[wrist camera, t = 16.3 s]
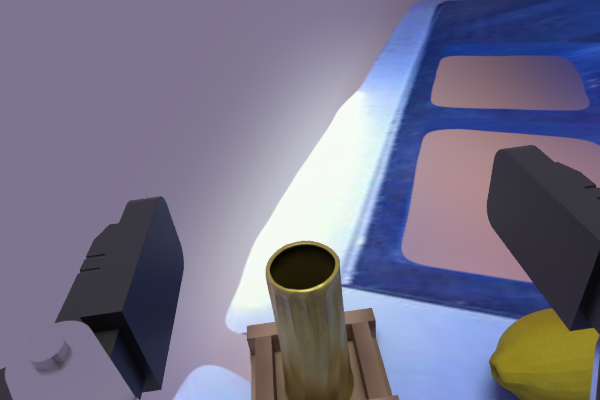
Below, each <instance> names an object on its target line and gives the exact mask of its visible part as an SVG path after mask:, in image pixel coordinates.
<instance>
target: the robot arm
mask: <svg viewBox="0 0 600 400" xmlns="http://www.w3.org/2000/svg"><path fill="white" fill-rule="evenodd" d="M487 214H488V218H489V221H490V224H491V226H492V228H493V229H494V230H495V232H496V233H497V234H498V236H499V237H500V238H501V240H502V241H503V242H504V244H505V245H506V247H507V248H508V249H509V250H510V252H511V253H512V255H513V256H514V257H515V259H516V260H517V261H518V263H519V264H520V265H521V266H522V268H523V269H524V271H525V272H526V273H527V275H528V276H529V277H530V279H531V280H532V281H533V283H534V284H535V285H536V287H537V288H538V290H539V291H540V292H541V294H542V295H543V296H544V298H545V299H546V300H547V302H548V303H549V304H550V306H551V307H552V308H553V310H554V311H555V312H556V314H557V315H558V316H559V318H560V319H561V320H562V322H563V323H564V324H565V326H566V327H567V328H568V330H569V331H576V330H583V329H589V328H594V329H595V330H596V331H597V332H598V334H599V335H600V188H596V185H595V184H594V183H593V182H591V180H589V179H588V178H587V177H586V176H584V175H583V174H582V173H581V172H579V171H577V170H574V169H572V168H570V167H568V166H565V165H563V164H561V163H558V162H556V163H555V162H554V161H552V160H551V159H550V158H549V157H548V156H547V155H545V154H544V153H543V152H542V151H541V150H540V149H538V148H537V147H536V146H533V145H528V146H521V147H515V148H507V149H501V150H499V151H498V152H497V153H496V155H495V158H494V163H493V169H492V175H491V181H490V187H489V194H488V200H487ZM86 258H87V259H86V260H84V262H83V264H82V266H81V268H80V274H78V275H77V277H76V279H75V281H74V283H73V285H72V288H71V290H70V292H69V294H68V296H67V298H66V300H65V302H64V304H63V306H62V309H61V311H60V313H59V315H58V317H57V319H56V321H55V323H54V324H52V325H50V326H47V327H45V328H43V329H41V330H39V331H37V332H36V333H34V334H33V335H32V336H30V337H29V338H27V339H26V340H25V341H24V342H23V343H22V344H21V345H20V346H19V347H18V348H17V349H16V350H15V351H14V353H13V354H12V356H11V357H10V359H9V361H8V363H7V366H6V367H5V368H3V369H1V370H0V400H140V399H141V395H142V392H149V391H155V390H161V388H162V382H163V377H164V372H165V366H166V361H167V355H168V350H169V345H170V339H171V334H172V329H173V324H174V318H175V313H176V308H177V302H178V297H179V292H180V286H181V281H182V276H183V270H184V260H183V252H182V247H181V244H180V241H179V238H178V235H177V233H176V230H175V226H174V224H173V221H172V218H171V215H170V212H169V209H168V206H167V203H166V201H165V200H164V198H163V197H161V196H160V197H153V198H146V199H139V200H131V201H129V202H128V203H127V205H126V208H125V210H124V212H123V215H122V217H121V220H120V222H119V223H118V224H111V225H109V226H108V227H107V228H106V229H105V230H104V231H103V232H102V233H101V234H100V235H98V236H97V237H96V238H95V239H94V241H93V243H92V245H91V247H90V249H89V251H88V254H87V256H86ZM590 400H600V336H599V338H598V340H597V342H596V346H595V354H594V364H593V373H592V383H591V392H590Z"/></svg>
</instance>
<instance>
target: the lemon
mask: <svg viewBox="0 0 600 400" xmlns="http://www.w3.org/2000/svg"><path fill="white" fill-rule="evenodd" d="M599 336H600V335H599V334H598V332H597V331H596V330H595V329H594V328H589V329H583V330H576V331H569V330H568V328H567V327H566V326H565V324H564V323H563V322H562V320H561V319H560V318H559V316H558V315H557V314H556V312H555V311H554V310H553V308H552V309H545V310H541V311H537V312H534V313H532V314H529V315H526V316H524V317H523V318H521V319H519V320H517V321H516V322H515V323H513V324H512V325H511V326H510V327H509V328H508V329H507V330H506V331H505V332H504V333H503V335H502V336H501V338H500V340H499V342H498V345H497V349H496V351H495V352H494V353H493V355H492V356H491V358H490V361H489V364H490V367H491V371H492V376H493V378H494V380H496V381H497V382H498V383H499V384H500V385H501V386H502V387H503V388H505V389H507V390H509V391H511V392H512V393H513V394H514V395H515V396H516V397H518V398H519V399H520V400H590V392H591V383H592V373H593V364H594V354H595V346H596V342H597V340H598V338H599Z"/></svg>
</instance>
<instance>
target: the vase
mask: <svg viewBox="0 0 600 400" xmlns="http://www.w3.org/2000/svg"><path fill="white" fill-rule="evenodd" d="M266 280H267V285H268V290H269V294H270V299H271V303H272V308H273V313H274V317H275V321H276V326H277V331H278V337H279V343H280V350H281V359H282V367H283V373H284V380H285V392H286V395H287V397H288V399H289V400H348V399H349V398H350V396H351V394H352V392H353V388H354V376H353V373H352V370H351V365H350V355H349V349H348V342H347V333H346V323H345V315H344V307H343V297H342V287H341V277H340V261H339V258H338V256H337V254H336V253H335V252H334V251H333V250H332V249H331V248H329V247H328V246H326V245H324V244H321V243H318V242H314V241H299V242H295V243H291V244H288V245H285V246H283V247H282V248H280V249H279V250H277V251H276V252H275V253H274V254H273V255H272V257H271V258H270V259H269V261H268V263H267V266H266Z"/></svg>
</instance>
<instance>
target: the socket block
mask: <svg viewBox="0 0 600 400" xmlns="http://www.w3.org/2000/svg"><path fill="white" fill-rule="evenodd" d="M344 315H345V323H346V333H347V342H348V349H349V355H350V365H351V370H352V373H353V376H354V388H353V392H352V394H351V396H350V398H349V399H348V400H399V398H398V395H396V396H392V393H391V389H390V386H389V382H388V379H387V375H386V372H385V368H384V365H383V361H382V358H381V354H380V351H379V347H378V344H377V340H376V322H375V317H374V314H373V310H372V308H368V309H361V310H354V311H347V312H344ZM247 341H248V345H249V348H250V352H251V355H252V400H289V399H288V397H287V395H286V392H285V380H284V373H283V367H282V359H281V350H280V343H279V337H278V331H277V326H276V322H271V323H264V324H258V325H251V326H247Z"/></svg>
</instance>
